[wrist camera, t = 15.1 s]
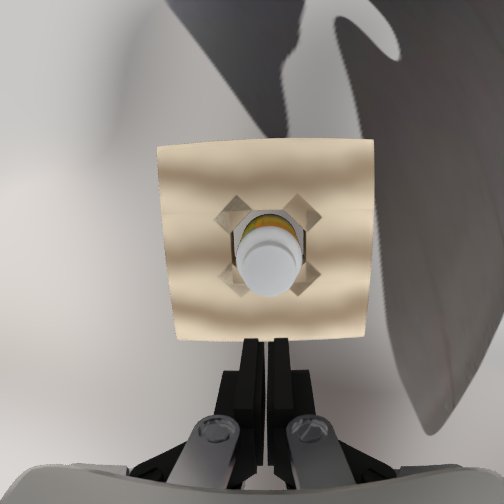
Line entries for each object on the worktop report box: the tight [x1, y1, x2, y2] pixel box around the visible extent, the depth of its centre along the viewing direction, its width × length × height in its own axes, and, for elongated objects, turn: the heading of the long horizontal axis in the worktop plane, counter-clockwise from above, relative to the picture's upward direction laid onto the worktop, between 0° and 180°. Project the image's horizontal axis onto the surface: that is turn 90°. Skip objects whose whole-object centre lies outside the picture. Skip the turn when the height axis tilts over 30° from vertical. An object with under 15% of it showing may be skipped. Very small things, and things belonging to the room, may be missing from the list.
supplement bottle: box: [236, 214, 302, 297], centre depth 28 cm, size 5×5×10 cm
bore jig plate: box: [157, 138, 374, 341], centre depth 32 cm, size 20×20×2 cm
